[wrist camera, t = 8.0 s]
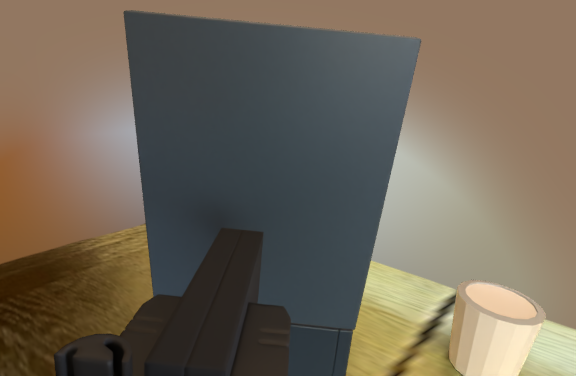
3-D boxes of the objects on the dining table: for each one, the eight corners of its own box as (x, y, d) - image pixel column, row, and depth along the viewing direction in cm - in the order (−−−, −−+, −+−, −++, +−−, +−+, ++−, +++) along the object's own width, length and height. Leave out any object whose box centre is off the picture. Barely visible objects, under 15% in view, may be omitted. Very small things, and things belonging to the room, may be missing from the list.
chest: (212, 308, 38) (215, 221, 36) (322, 320, 38) (334, 233, 35) (157, 437, 24) (156, 309, 22) (331, 458, 24) (353, 331, 21)
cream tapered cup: (426, 355, 34) (442, 290, 33) (464, 332, 39) (480, 272, 37) (502, 409, 29) (525, 334, 27) (536, 375, 33) (559, 308, 31)
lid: (131, 10, 15) (122, 10, 14) (416, 37, 15) (422, 39, 14) (159, 298, 22) (154, 308, 21) (353, 319, 22) (354, 330, 21)
